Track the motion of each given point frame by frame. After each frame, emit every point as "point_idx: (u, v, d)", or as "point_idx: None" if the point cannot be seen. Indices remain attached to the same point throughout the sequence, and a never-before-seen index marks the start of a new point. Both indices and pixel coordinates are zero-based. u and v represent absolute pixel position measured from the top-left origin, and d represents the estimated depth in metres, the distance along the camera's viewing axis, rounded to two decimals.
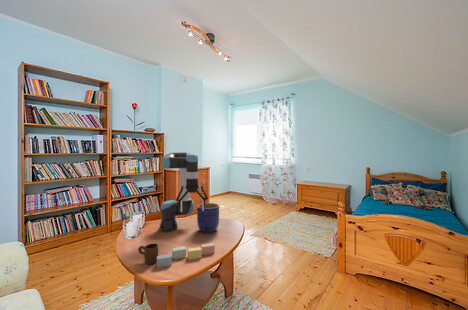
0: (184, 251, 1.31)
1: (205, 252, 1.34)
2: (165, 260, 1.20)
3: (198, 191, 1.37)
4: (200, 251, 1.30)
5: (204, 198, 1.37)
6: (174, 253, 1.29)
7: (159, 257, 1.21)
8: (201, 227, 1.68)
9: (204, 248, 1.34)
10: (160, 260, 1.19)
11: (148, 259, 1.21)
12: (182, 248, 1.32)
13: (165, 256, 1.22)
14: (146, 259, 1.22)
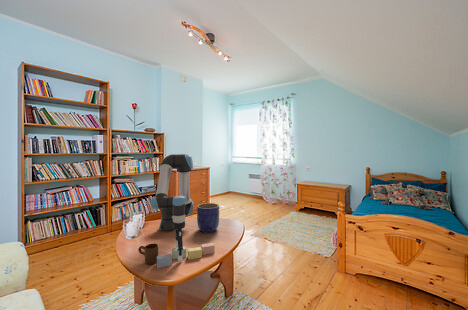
0: (184, 251, 1.31)
1: (205, 252, 1.34)
2: (165, 260, 1.20)
3: None
4: (200, 251, 1.30)
5: (178, 248, 1.24)
6: (174, 253, 1.28)
7: (159, 257, 1.20)
8: (201, 227, 1.68)
9: (204, 248, 1.34)
10: (160, 260, 1.19)
11: (148, 259, 1.21)
12: None
13: (165, 256, 1.22)
14: (146, 259, 1.22)
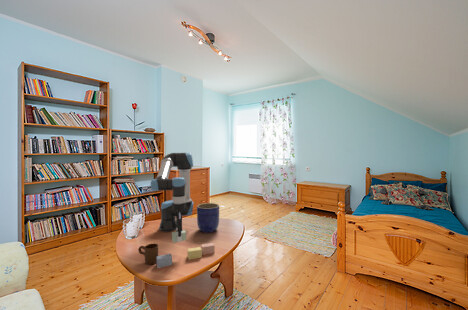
0: (184, 234, 1.31)
1: (205, 252, 1.34)
2: (165, 260, 1.20)
3: None
4: (200, 251, 1.30)
5: (177, 229, 1.27)
6: (174, 237, 1.29)
7: (159, 257, 1.20)
8: (201, 227, 1.68)
9: (204, 248, 1.34)
10: (161, 260, 1.19)
11: (148, 259, 1.21)
12: (182, 232, 1.32)
13: (165, 256, 1.22)
14: (146, 259, 1.22)
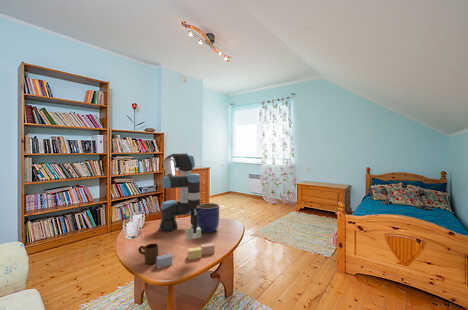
0: (199, 231, 1.30)
1: (205, 252, 1.34)
2: (165, 260, 1.20)
3: None
4: (200, 251, 1.30)
5: (192, 226, 1.26)
6: (190, 233, 1.27)
7: (159, 257, 1.20)
8: (201, 227, 1.68)
9: (204, 248, 1.34)
10: (161, 260, 1.19)
11: (148, 259, 1.21)
12: (197, 228, 1.31)
13: (165, 256, 1.22)
14: (146, 259, 1.22)
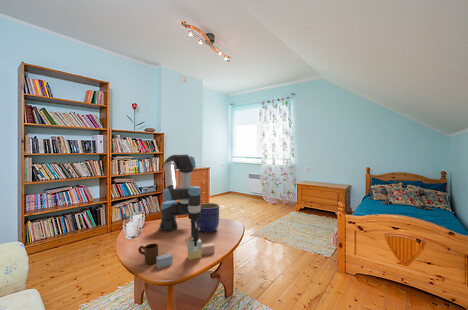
0: (200, 243, 1.30)
1: (205, 252, 1.34)
2: (166, 260, 1.20)
3: None
4: (200, 251, 1.30)
5: (193, 239, 1.26)
6: (190, 245, 1.27)
7: (159, 257, 1.20)
8: (201, 227, 1.68)
9: (204, 248, 1.34)
10: (161, 260, 1.19)
11: (148, 259, 1.21)
12: None
13: (165, 256, 1.22)
14: (146, 259, 1.22)
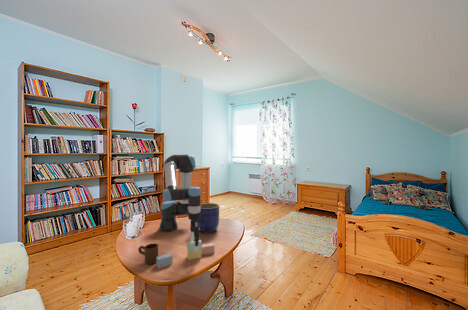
0: (200, 243, 1.30)
1: (205, 252, 1.34)
2: (166, 260, 1.20)
3: None
4: (200, 251, 1.30)
5: (194, 238, 1.23)
6: (190, 246, 1.27)
7: (159, 258, 1.20)
8: (201, 227, 1.68)
9: (204, 248, 1.34)
10: (161, 260, 1.19)
11: (148, 259, 1.21)
12: None
13: (165, 256, 1.22)
14: (146, 259, 1.22)
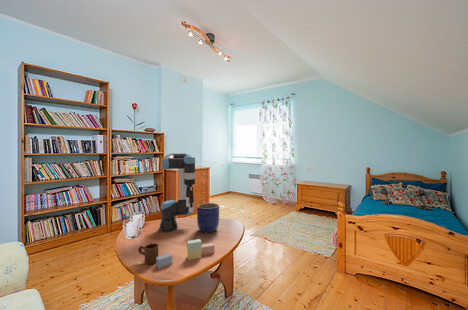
0: (200, 243, 1.30)
1: (205, 252, 1.34)
2: (166, 260, 1.21)
3: None
4: (200, 251, 1.30)
5: (189, 200, 1.38)
6: (190, 245, 1.27)
7: (159, 258, 1.20)
8: (201, 227, 1.68)
9: (204, 248, 1.34)
10: (161, 260, 1.19)
11: (148, 259, 1.21)
12: (197, 240, 1.31)
13: (165, 256, 1.22)
14: (146, 259, 1.22)
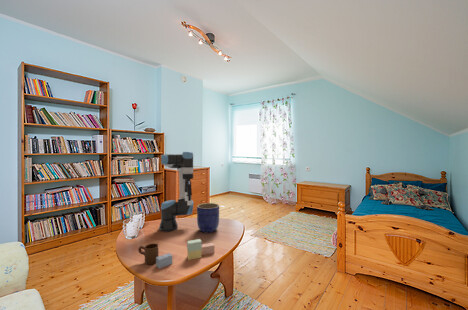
0: (200, 243, 1.30)
1: (205, 252, 1.34)
2: (166, 260, 1.21)
3: None
4: (200, 251, 1.30)
5: (187, 194, 1.43)
6: (190, 246, 1.27)
7: (160, 258, 1.20)
8: (201, 227, 1.68)
9: (204, 248, 1.34)
10: (162, 260, 1.19)
11: (148, 259, 1.21)
12: (197, 240, 1.31)
13: (165, 256, 1.22)
14: (146, 259, 1.22)
